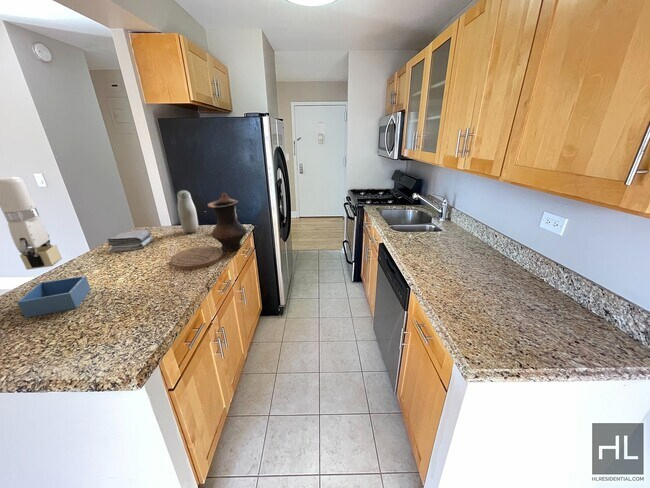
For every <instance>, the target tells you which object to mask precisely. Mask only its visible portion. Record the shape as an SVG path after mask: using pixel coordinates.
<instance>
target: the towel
mask: <svg viewBox="0 0 650 488" xmlns="http://www.w3.org/2000/svg"><path fill="white" fill-rule="evenodd" d="M151 235H152V232H151V231H150V230H148V229H147V230H146V229H140V230H135V231H130V232H121V233H118V234H117V235H115V236H114V237H107V246H110V247H109V249H108V252H109V253H115V252H126V251H127V252H128V251H136V250H141V249H144V247H145V246H147V245H148V244H150V242H152V241H153V240H154V239H153V237H152V236H151Z"/></svg>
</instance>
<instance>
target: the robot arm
mask: <svg viewBox="0 0 650 488" xmlns="http://www.w3.org/2000/svg"><path fill="white" fill-rule="evenodd" d="M0 209H1V212H2V213H3V216H4V217H5V219H6V222H7V226H8V229H9V234H10V236H11V239H12V240H13V241H12V242H13V243H14V245H15V247H16V250H18V252H19V253H20V254H23V255H24V256H25V257H26V258H27V259H28V261H29V263H30V265H31V267H32V268H35V267H42V266H44V263H43V261H42V259H41V257H40V255H39V256H38V251H37V248H38V247H43V246H51V245H52V244H51V239H50V235H49V233H48V231H47V229H46V227H45V225H44V223H43V221H42V220H41V219H40V217H41V216H40V214H39V212H38V209H37V207H36V205H35V202H34V200H33V198H32V196H31V193H30V191H29V189H28V187H27V184H26V182H25V181H24V179H23V178H21V177H18V176H7V177H5V176H4V177H0ZM29 250H33V252H31V251H29ZM42 268H43V267H42ZM35 269H36V268H35Z"/></svg>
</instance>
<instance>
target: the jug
mask: <svg viewBox="0 0 650 488" xmlns="http://www.w3.org/2000/svg"><path fill="white" fill-rule="evenodd" d="M237 204H239V200H236V199H234V198H233V199H232V198H231V197H230V196H229V195H228V193H227V192H222V193H221V195H220V197H219V199H217V200H214V201H211V202H209V203H208V204H207V207H208V208H209V209H212V210H213V211H214V215H215V219H216V225H215V227H214V228H213V230H212V232H211V237H212V238H213V239H215V240H217V242H219V243H220V244H221V246H220V248H221V249H222V250H223V252H227V253H228V252H234V251H237V250H239V249H241V248H242V244H241V241H242V239H243V238H244V236H246V234H247V233H248V232H247V228H246V227H245V226H244V225H243V224H241V222H239V221H238V218H237V219H236V216H235V206H236V205H237Z"/></svg>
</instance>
